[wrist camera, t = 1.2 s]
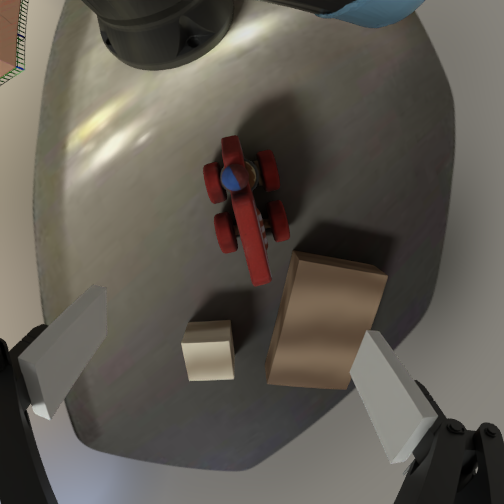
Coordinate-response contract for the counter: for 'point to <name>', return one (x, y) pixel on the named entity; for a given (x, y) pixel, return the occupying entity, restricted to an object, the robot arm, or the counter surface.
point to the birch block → (209, 350)
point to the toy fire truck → (246, 205)
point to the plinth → (322, 320)
